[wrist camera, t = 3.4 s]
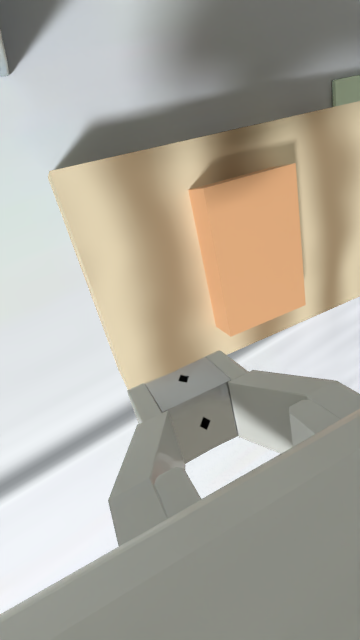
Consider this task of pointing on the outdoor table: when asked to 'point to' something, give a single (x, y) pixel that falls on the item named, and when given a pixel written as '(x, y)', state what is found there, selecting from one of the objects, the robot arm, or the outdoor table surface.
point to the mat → (346, 90)
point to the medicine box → (3, 59)
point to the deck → (182, 240)
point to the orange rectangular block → (251, 246)
